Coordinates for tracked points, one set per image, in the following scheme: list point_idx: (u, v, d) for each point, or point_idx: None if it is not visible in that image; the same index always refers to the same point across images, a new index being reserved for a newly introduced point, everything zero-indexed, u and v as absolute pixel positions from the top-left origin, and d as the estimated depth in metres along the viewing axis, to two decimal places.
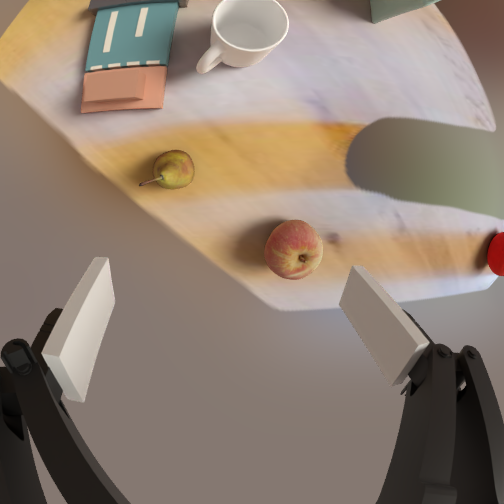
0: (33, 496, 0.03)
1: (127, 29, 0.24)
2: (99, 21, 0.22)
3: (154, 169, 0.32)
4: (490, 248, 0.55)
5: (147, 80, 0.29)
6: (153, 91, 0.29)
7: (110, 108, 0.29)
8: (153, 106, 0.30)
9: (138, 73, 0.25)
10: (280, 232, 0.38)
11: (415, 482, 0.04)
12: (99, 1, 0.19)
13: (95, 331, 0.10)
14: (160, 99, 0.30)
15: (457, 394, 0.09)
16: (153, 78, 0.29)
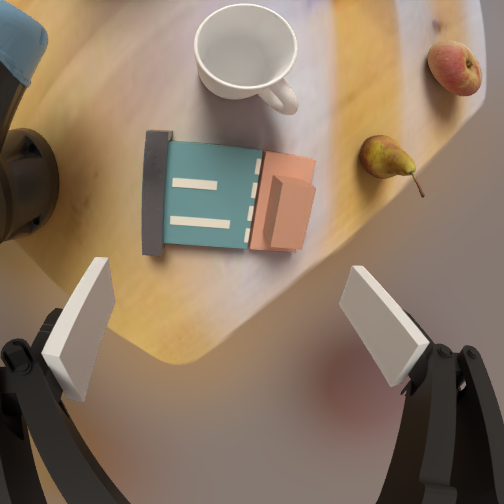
0: (33, 496, 0.03)
1: (202, 200, 0.30)
2: (180, 238, 0.32)
3: (382, 176, 0.29)
4: None
5: (280, 173, 0.30)
6: (295, 166, 0.30)
7: None
8: (312, 168, 0.30)
9: (286, 183, 0.27)
10: (446, 73, 0.23)
11: (415, 482, 0.04)
12: (151, 244, 0.30)
13: (95, 331, 0.10)
14: (306, 159, 0.30)
15: (457, 394, 0.09)
16: (279, 166, 0.30)
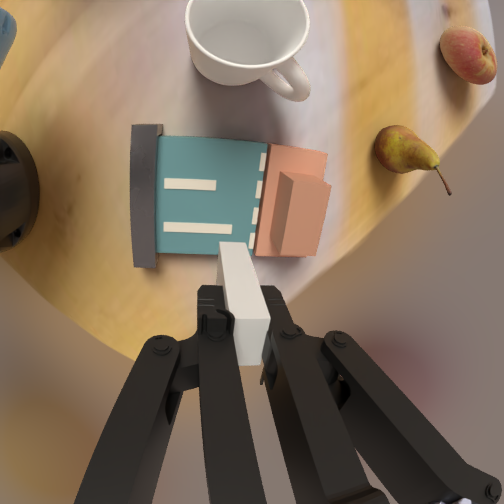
0: (151, 479, 0.05)
1: (199, 203, 0.26)
2: (176, 246, 0.28)
3: (401, 171, 0.25)
4: None
5: (288, 169, 0.26)
6: (305, 161, 0.26)
7: None
8: (324, 162, 0.26)
9: (298, 181, 0.23)
10: (462, 60, 0.19)
11: (325, 502, 0.04)
12: (143, 254, 0.26)
13: None
14: (317, 152, 0.26)
15: (339, 385, 0.10)
16: (287, 161, 0.26)
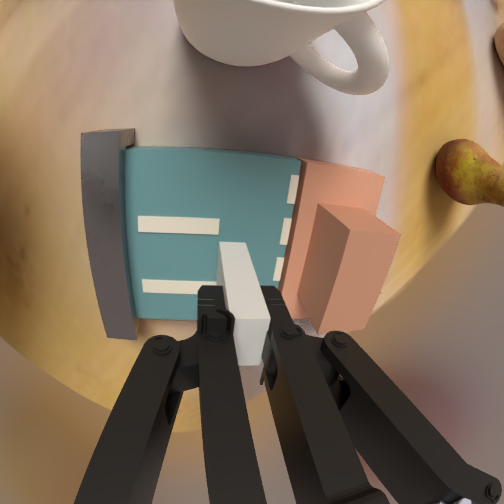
0: (151, 480, 0.05)
1: (194, 253, 0.17)
2: (164, 311, 0.19)
3: (471, 203, 0.16)
4: None
5: (330, 200, 0.17)
6: (354, 188, 0.17)
7: None
8: (380, 189, 0.17)
9: (355, 228, 0.13)
10: None
11: (325, 502, 0.04)
12: (117, 324, 0.17)
13: None
14: (371, 175, 0.17)
15: (339, 385, 0.10)
16: (329, 187, 0.17)
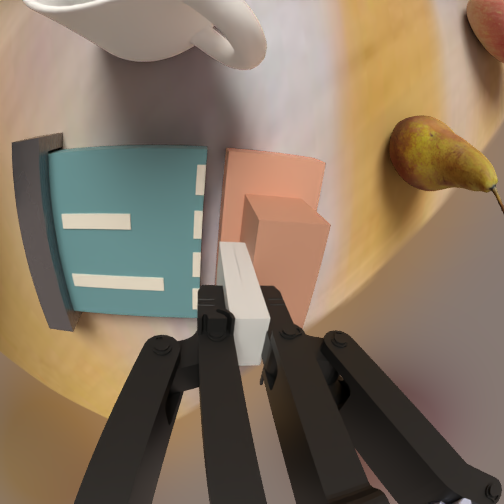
0: (151, 479, 0.05)
1: (112, 248, 0.16)
2: (95, 305, 0.18)
3: (431, 188, 0.15)
4: None
5: (259, 190, 0.16)
6: (287, 176, 0.16)
7: None
8: (320, 177, 0.16)
9: (268, 219, 0.13)
10: (500, 32, 0.08)
11: (325, 502, 0.04)
12: (55, 315, 0.16)
13: None
14: (308, 161, 0.16)
15: (339, 385, 0.10)
16: (256, 177, 0.16)
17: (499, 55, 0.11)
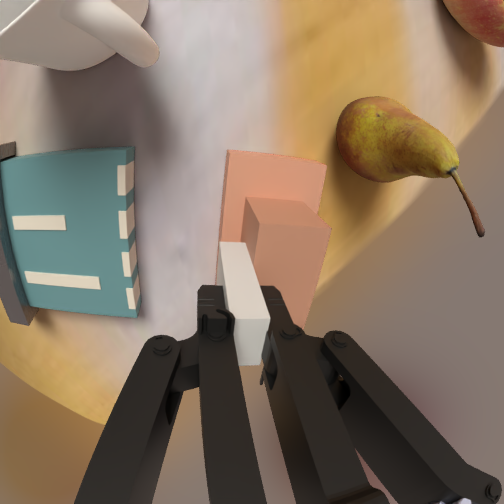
0: (151, 480, 0.05)
1: (53, 247, 0.15)
2: (45, 301, 0.17)
3: (383, 178, 0.14)
4: None
5: (260, 192, 0.16)
6: (288, 179, 0.16)
7: None
8: (321, 180, 0.16)
9: (269, 222, 0.12)
10: (475, 5, 0.07)
11: (325, 502, 0.04)
12: (13, 309, 0.15)
13: None
14: (309, 164, 0.16)
15: (339, 385, 0.10)
16: (257, 179, 0.16)
17: (477, 32, 0.10)
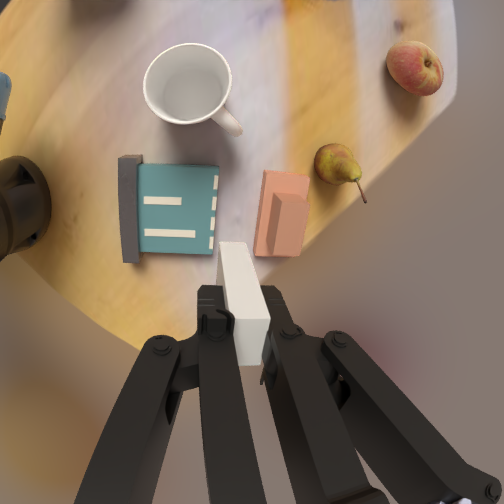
0: (151, 479, 0.05)
1: (170, 214, 0.34)
2: (154, 247, 0.36)
3: (334, 183, 0.33)
4: None
5: (279, 190, 0.35)
6: (292, 184, 0.35)
7: None
8: (307, 184, 0.36)
9: (285, 201, 0.32)
10: (402, 75, 0.27)
11: (325, 502, 0.04)
12: (129, 253, 0.35)
13: None
14: (302, 177, 0.35)
15: (339, 385, 0.10)
16: (278, 184, 0.35)
17: (406, 89, 0.29)
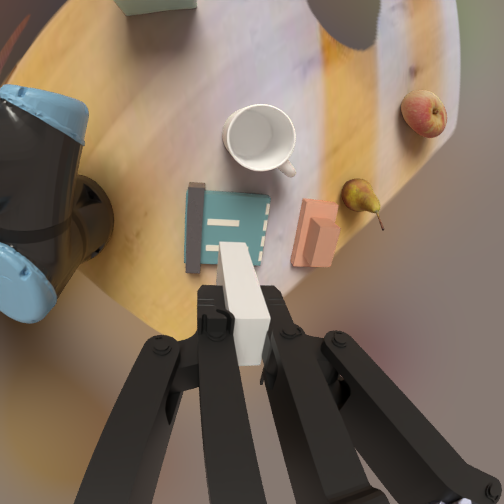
0: (151, 479, 0.05)
1: (229, 233, 0.44)
2: (213, 259, 0.45)
3: (358, 211, 0.43)
4: None
5: (315, 215, 0.45)
6: (325, 210, 0.45)
7: None
8: (336, 210, 0.45)
9: (322, 226, 0.41)
10: (414, 122, 0.36)
11: (325, 502, 0.04)
12: (192, 265, 0.44)
13: None
14: (332, 205, 0.44)
15: (339, 385, 0.10)
16: (315, 210, 0.44)
17: (416, 132, 0.39)
